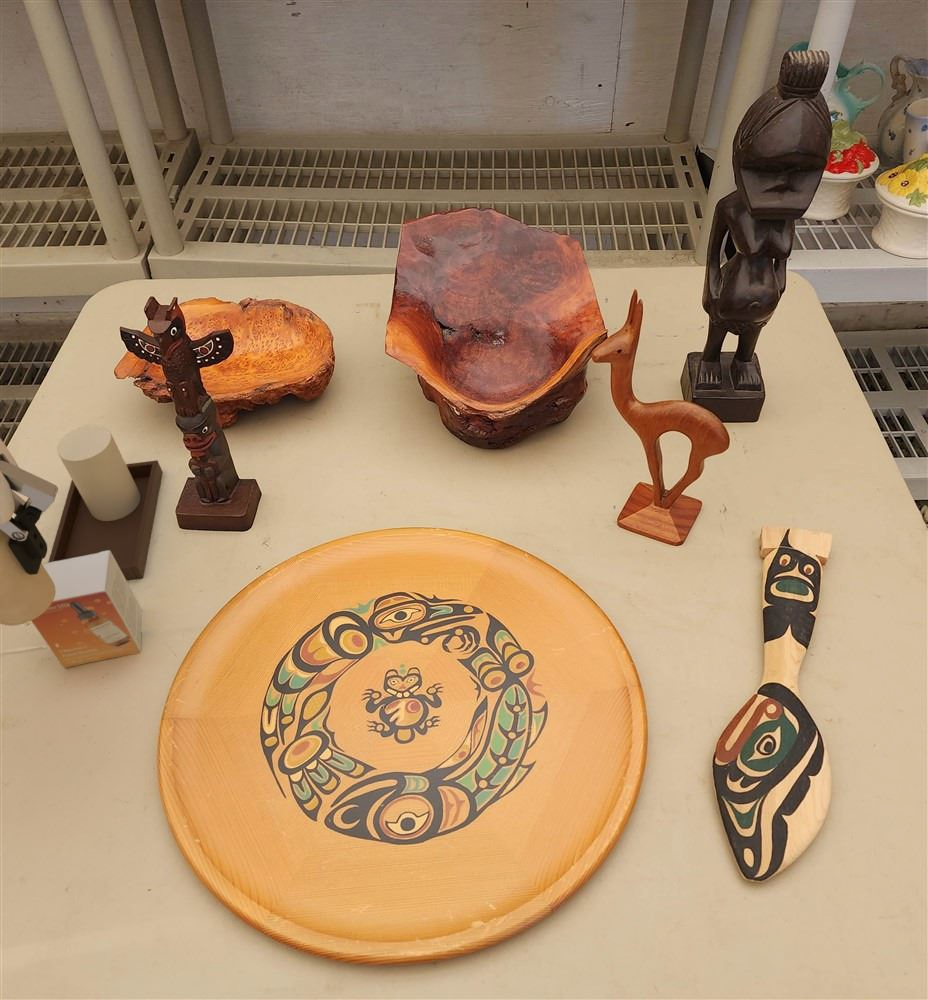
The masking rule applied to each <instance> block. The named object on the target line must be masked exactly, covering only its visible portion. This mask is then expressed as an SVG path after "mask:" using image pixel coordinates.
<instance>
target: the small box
mask: <svg viewBox="0 0 928 1000" xmlns="http://www.w3.org/2000/svg"><path fill="white" fill-rule="evenodd" d="M48 562H49V561H48ZM48 562H44V563H43V562H42V565H43V566H44V568H45V569H46V571H47V573H48V574H49V576H50V577H51V579H52V581H53V583H54V586H55V597H54V600H53V602H52V603H51V605H50V606H49V608H48V609H47V610H46V611H45V612H44V613H42V614H41V615H40V616H38V617H37V618H35V619H33V620H31V621H30V622H31V623H32V624H33V626H34V627H35V628H36V630H37V631H38V633H39V634H40V636H41V637H42V639H43V640H44V641H45V643H46V644H47V646H48V647H49V649H50V651H51V652H52V653H53V654H54V656H55V657H56V659H57V660H58V662H59V664H60V665H61V666H62V667H63V668H64V669H66V668H70V667H75V666H79V665H84V664H88V663H93V662H98V661H103V660H109V659H113V658H118V657H123V656H129V655H136V654H140V653H141V649H142V636H143V632H142V623H143V609H142V607H141V605H140V604H139V601H138V599H137V598H136V596H135V593H134V592H133V590H132V588H131V586H130V585H129V582H128V581H126V579H125V577H124V575H123V573H122V572H121V570H120V568H119V566H118V564H117V562H116V560H115V558H114V557H113V555H112V553H111V551H110V550H107V551H102V552H99V553H95V554H90V555H85V556H80V557H75V558H70V559H65V560H59V561H54V562H49V563H48Z"/></svg>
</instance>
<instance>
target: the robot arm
mask: <svg viewBox="0 0 928 1000" xmlns="http://www.w3.org/2000/svg"><path fill="white" fill-rule="evenodd" d="M58 491H59V487H58V486H57V484H54V483H52V482H50V481H49V480H46V479H44V478H41V477H40V476H38V475H35V474H34V473H31V472H29V471H27V470H25V469H23V468H21V467H20V466H19V464H18V462H17V461H16V460H15V458H14V456H13V454H12V453H11V452H10V450H9V448H8V447H7V446H6V444H5V443H4V442H3V440H2V439H1V438H0V529H1V530H2V531H3V532H5V533H6V534H7V535H8V536H10V540H9V543H8V545H9V548H10V549H11V551H12V552H13V554H14V555H15V557H16V558H17V560H18V561H19V563H20V564H21V566H22V567H23V569H24V570H25V572H26V573H27V574H29V575H34V574H38V571H39V568H40V565H41V563H43V562H42V561H43V559H45V558H46V557H47V553H48V543H47V542H46V540H45V538H44V536H43V535H42V533H41V532H40V530H39V528H38V527H37V525H36V524H38V522H39V520H40V518H41V516H42V515H43V514H44V513H45V512H46V511H47V510H48V509H49V508H50V507H51V506H52V505H53V504H54V502H55V500H56V497H57V494H58ZM18 494H20V495H23V496H24V497H27V499H26V500H25V499H23V498H22V496H21V497H20V495H18ZM13 514H15V516H14V517H13Z"/></svg>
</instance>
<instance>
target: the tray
mask: <svg viewBox="0 0 928 1000" xmlns="http://www.w3.org/2000/svg"><path fill="white" fill-rule="evenodd" d="M125 464H126V466H127V468H128V470H129V472H130V474H131V476H132V478H133V480H134V482H135V484H136V486H137V488H138V490H139V493H140V502H139V504H138V506H137V507H136V509H135V510H134V511H133V512H131V513H130V514H129V515H127V516H125V517H123V518H121V519H118V520H114V521H101V520H98V519H96V518H94V517H93V516H92V514H91V512H90V511H89V509H88V507H87V505H86V503H85V502H84V500H83V498H82V496H81V494H80V493H79V491H78V489H77V487H76V485H75V484H74V482H73V480H72V479H71V481H70V485H69V489H68V492H67V496H66V500H65V504H64V506H63V510H62V513H61V517H60V520H59V523H58V527H57V531H56V535H55V537H54V541H53V544H52V548H51V552H50V555H49V558H48V561H47V563H49V562H54V561H59V560H65V559H70V558H75V557H80V556H85V555H90V554H95V553H99V552H102V551H107V550H110V551H111V553H112V555H113V557H114V558H115V560H116V562H117V564H118V566H119V568H120V570H121V572H122V573H123V575H124V577H125V579H126V581H127V582H128V581H135V580H142V579H144V575H145V571H146V565H147V561H148V554H149V550H150V543H151V538H152V533H153V526H154V522H155V516H156V511H157V505H158V501H159V495H160V489H161V483H162V478H163V474H164V472H163V470H162V467H161V465H160V463H159V460H157V459H156V460H149V461H142V462H133V463H125Z"/></svg>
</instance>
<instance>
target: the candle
mask: <svg viewBox="0 0 928 1000" xmlns="http://www.w3.org/2000/svg"><path fill="white" fill-rule="evenodd" d="M9 540H10V536H8V535H7V534H6V533H5V532H3V531H2V530H1V529H0V625H2V626H8V627H9V626H12V627H13V626H20V625H23V624H27V623H30V622H32V621H31V620H33V619H35V618H37V617H38V616H40V615H41V614H42V613H44V612H45V611H46V610H47V609H48V608H49V606H50V605H51V603H52V602H53V600H54V597H55V586H54V583H53V581H52V579H51V577H50V576H49V574H48V573H47V571H46V569H45V568H44V566H43V565H42V564H43V562H41V565H40V568H39V571H38V574H34V575H29V574H27V573H26V572H25V570H24V569H23V567H22V566H21V564H20V563H19V561H18V560H17V558H16V557H15V555H14V554H13V552H12V551H11V549H10V548H9V545H8V543H9Z"/></svg>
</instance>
